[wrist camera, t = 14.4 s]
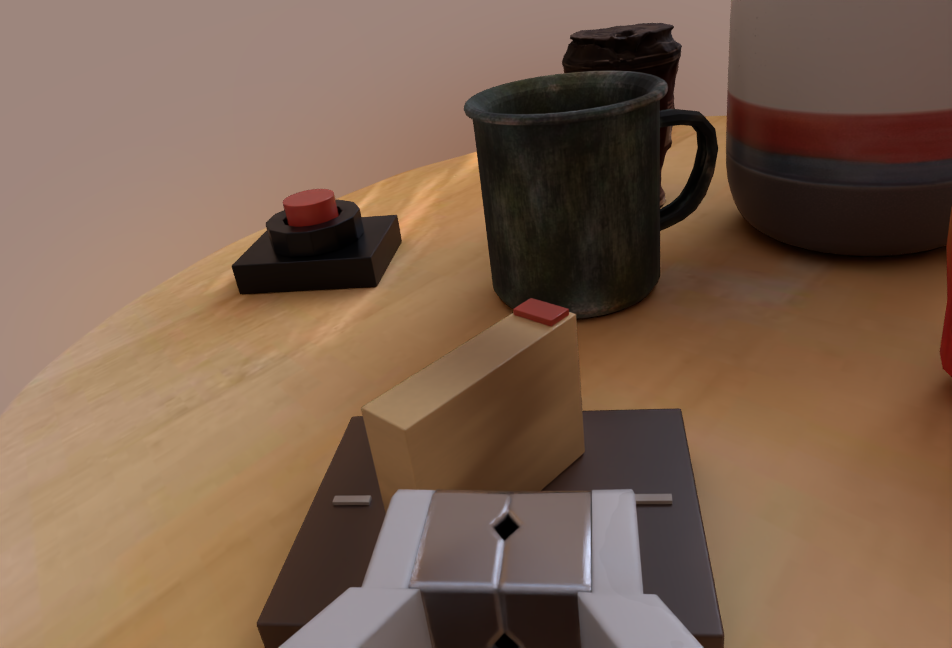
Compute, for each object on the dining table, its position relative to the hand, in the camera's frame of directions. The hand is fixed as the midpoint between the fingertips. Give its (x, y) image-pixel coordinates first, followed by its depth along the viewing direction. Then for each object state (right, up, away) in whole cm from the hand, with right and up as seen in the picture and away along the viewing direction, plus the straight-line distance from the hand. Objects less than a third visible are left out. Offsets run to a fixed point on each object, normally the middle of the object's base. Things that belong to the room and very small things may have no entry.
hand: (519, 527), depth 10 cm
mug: (+7, +5, +38) cm, 39 cm away
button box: (-12, +7, +45) cm, 47 cm away
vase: (+25, +9, +41) cm, 49 cm away
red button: (-12, +10, +44) cm, 46 cm away
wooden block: (0, -4, +17) cm, 18 cm away
